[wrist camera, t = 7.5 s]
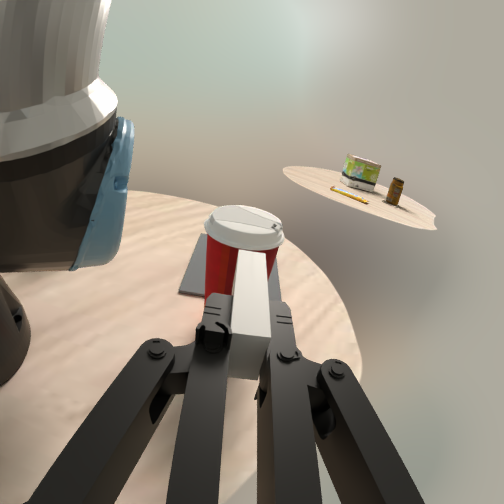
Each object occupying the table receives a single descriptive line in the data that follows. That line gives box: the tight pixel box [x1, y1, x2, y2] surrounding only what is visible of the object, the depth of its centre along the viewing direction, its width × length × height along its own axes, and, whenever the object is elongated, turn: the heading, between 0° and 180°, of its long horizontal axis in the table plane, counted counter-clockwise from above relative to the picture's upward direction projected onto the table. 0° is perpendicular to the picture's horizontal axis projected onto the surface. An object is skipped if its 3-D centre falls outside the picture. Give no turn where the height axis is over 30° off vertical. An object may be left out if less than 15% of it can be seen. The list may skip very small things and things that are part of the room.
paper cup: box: [204, 205, 284, 308], centre depth 30 cm, size 8×8×14 cm
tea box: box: [340, 154, 381, 192], centre depth 125 cm, size 15×10×15 cm
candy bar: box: [330, 187, 369, 203], centre depth 106 cm, size 17×4×2 cm, turn 50°
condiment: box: [383, 177, 404, 208], centre depth 111 cm, size 7×8×12 cm
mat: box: [179, 233, 282, 302], centre depth 45 cm, size 18×14×1 cm
